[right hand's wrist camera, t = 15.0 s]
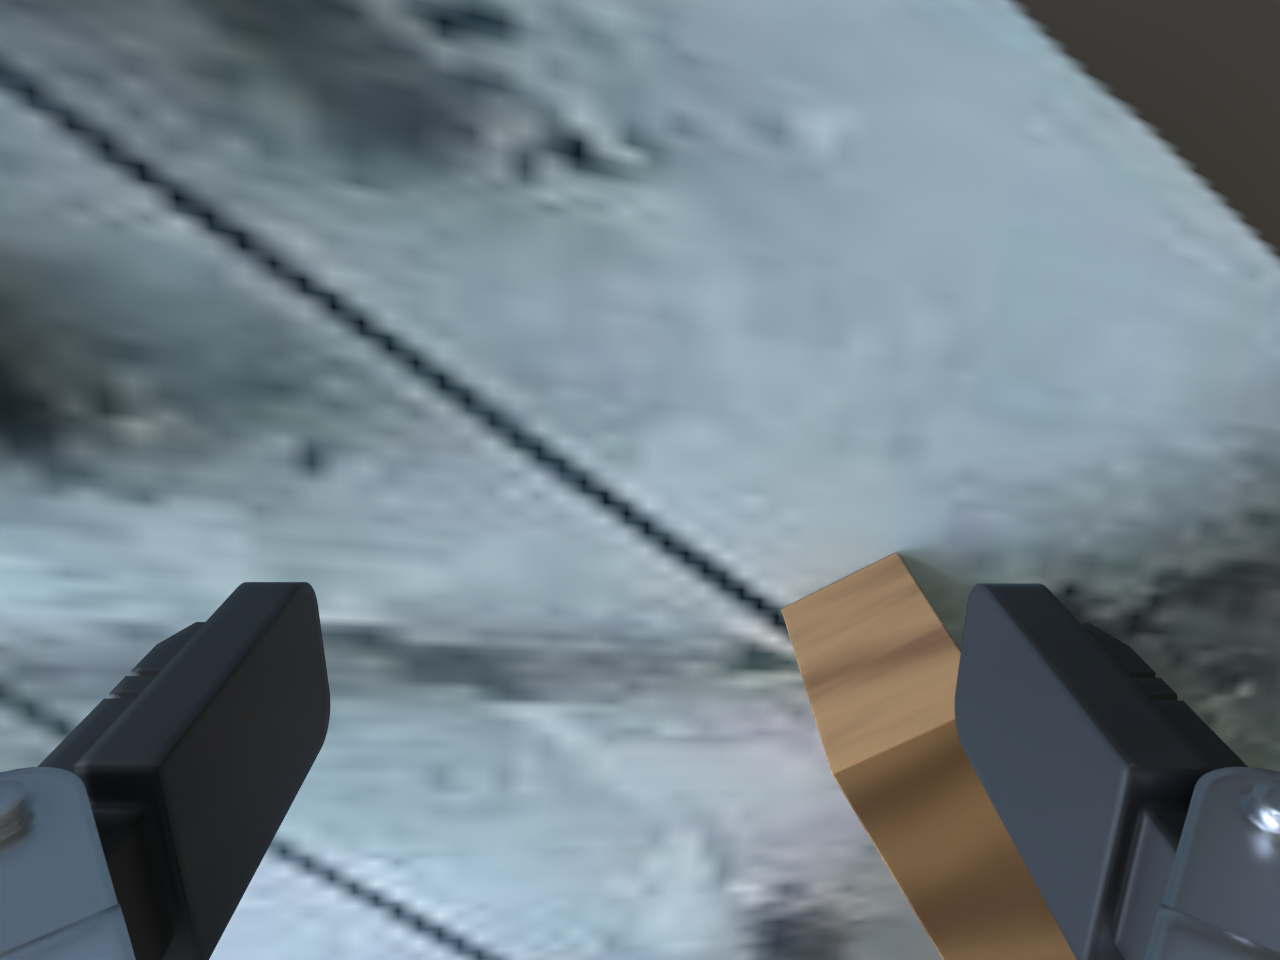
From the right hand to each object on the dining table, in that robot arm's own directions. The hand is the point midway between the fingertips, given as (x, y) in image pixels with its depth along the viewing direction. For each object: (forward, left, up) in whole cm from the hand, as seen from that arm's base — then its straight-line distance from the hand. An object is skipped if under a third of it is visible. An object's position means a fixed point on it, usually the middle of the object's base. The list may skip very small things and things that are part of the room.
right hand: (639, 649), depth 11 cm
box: (+25, +16, -28) cm, 41 cm away
